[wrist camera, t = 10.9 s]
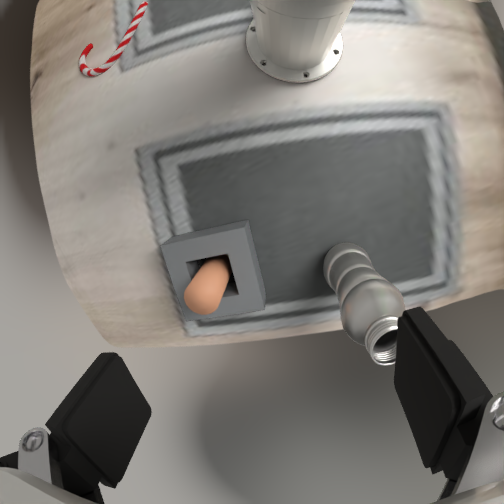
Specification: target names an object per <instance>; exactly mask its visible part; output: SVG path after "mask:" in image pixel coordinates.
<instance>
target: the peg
mask: <svg viewBox="0 0 504 504" xmlns="http://www.w3.org/2000/svg"><path fill="white" fill-rule="evenodd" d="M232 271H233V270H232V267H231V263H230V259H229V257H228V256H227V255H225V254H223V255H218V256H213V257H208V258H207V259H206V261H205V262H204V263H203V265H202V266H201V268H200V269H199V271H198V272H197V273H196V275H195V276H194V278H193V279H192V281H191V282H190V284H189V285H188V287H187V288H186V290H185V292H184V300H185V303H186V305H187V306H188V307H189V309H191V310H192V311H193V312H195V313H197V314H201V315H207V314H211V313H213V312H214V311H215V310H216V309H217V308H218V306H219V303H220V301H221V298H222V296H223V293H224V291H225V288H226V286H227V283H228V281H229V279H230V276H231V274H232Z"/></svg>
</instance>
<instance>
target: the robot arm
mask: <svg viewBox="0 0 504 504" xmlns="http://www.w3.org/2000/svg"><path fill="white" fill-rule="evenodd" d="M467 1H472V2H487V1H491V0H467ZM354 3H355V0H250V4H251V9H252V14H253V20H252V21H251V23H250V25H249V26H248V29H247V32H246V46H247V50H248V53H249V55H250V57H251V59H252V61H253V62H254V63H255V64H256V65H257V67H258V68H260V69H261V70H262V71H263V72H265V73H266V74H268V75H270V76H272V77H274V78H277V79H279V80H282V81H287V82H297V83H302V82H310V81H313V80H317V79H319V78H321V77H323V76H325V75H327V74H328V73H329V72H331V71H332V70H333V69H334V68H335V66H336V65H337V64H338V62H339V60H340V58H341V56H342V52H343V40H342V36H341V33H340V31H341V29H342V27H343V25H344V23H345V21H346V19H347V17H348V15H349V13H350V11H351V9H352V7H353V5H354ZM253 30H255V32H252V31H253ZM334 53H336V54H337V55H335V54H334ZM263 63H265V64H266V65H265V66H263V65H262V64H263ZM304 75H307V76H308V77H307V78H305V77H304ZM394 385H395V389H396V392H397V394H398V397H399V399H400V401H401V404H402V407H403V409H404V412H405V414H406V417H407V420H408V422H409V425H410V428H411V430H412V433H413V436H414V438H415V441H416V444H417V447H418V450H419V453H420V456H421V459H422V461H423V464H424V466H425V468H429V467H430V468H431V471H432V474H435V473H437V472H440V471H442V470H443V471H444V474H445V477H446V478H448V479H447V481H446V483H445V486H444V488H443V490H442V492H441V494H440V496H439V498H438V499H437V501H436V502H434V503H430V504H504V392H501V393H498V394H497V395H495V396H494V397H493V395H492V394H491V393H490V391H489V390H488V388H487V387H486V385H485V384H484V382H483V381H482V379H481V378H480V377H479V375H478V374H477V372H476V371H475V370H474V368H473V367H472V366H471V364H470V363H469V361H468V360H467V359H466V357H465V356H464V355H463V353H462V352H461V351H460V349H459V348H458V347H457V346H456V344H455V343H454V342H453V341H451V340H448V339H447V338H446V337H445V336H444V334H443V333H442V332H441V331H440V330H439V328H438V327H437V325H436V324H435V323H434V322H433V321H432V319H431V318H430V317H429V316H428V315H427V313H426V312H425V311H424V310H423V308H421V307H416V308H413V309H409V310H405V311H403V314H402V316H401V317H398V320H397V345H396V361H395V375H394ZM150 417H151V407H150V406H149V404H148V403H147V401H146V399H145V397H144V396H143V394H142V393H141V391H140V389H139V387H138V386H137V384H136V382H135V381H134V379H133V377H132V375H131V374H130V372H129V370H128V368H127V367H126V365H125V363H124V361H123V359H122V358H121V357H119V356H118V354H117V353H114V352H113V353H101V354H100V355H99V356H98V357H97V358H96V360H95V361H94V362H93V363H92V365H91V366H90V367H89V368H88V369H87V371H86V372H85V374H83V376H82V377H81V378H80V379H79V381H78V382H77V383H76V385H75V386H74V387H73V389H72V390H71V391H70V392H69V394H68V395H67V396H66V397H65V399H64V400H63V401H62V403H61V404H60V405H59V407H58V408H57V409H56V410H55V412H54V413H53V415H52V416H51V417H50V419H49V420H48V421H47V423H46V424H45V425H46V426H47V428H48V429H49V430H50V431H51V434H50V435H49V434H48V433H47V431H46V430H45V429H43V428H33V429H31V430H29V431H28V432H26V433H25V434H24V435H23V437H22V438H21V440H20V443H19V451H17V452H14V453H11V454H9V455H6V456H3V457H1V458H0V504H104V501H103V498H102V495H101V492H100V488H99V486H98V483H99V481H100V482H101V483H102V484H103V485H105V486H108V487H112V488H116V486H117V484H118V482H120V481H121V480H122V478H123V476H124V474H125V471H126V469H127V467H128V465H129V462H130V460H131V458H132V456H133V454H134V451H135V449H136V447H137V445H138V443H139V440H140V438H141V436H142V434H143V432H144V430H145V427H146V425H147V423H148V421H149V419H150Z"/></svg>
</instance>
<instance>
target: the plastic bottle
mask: <svg viewBox="0 0 504 504" xmlns="http://www.w3.org/2000/svg"><path fill="white" fill-rule="evenodd" d="M323 272H324V277H325V279H326V281H327V283H328V284H329V286H330V287H331V288H332V289H333V290H334V291H335V293H336V294H337V296H338V300H339V303H340V314H341V321H342V325H343V328H344V330H345V332H346V333H347V335H348V336H349V337H350V338H351V339H352V340H354V341H355V342H357V343H359V344H361V345H364V346H366V348H367V351H368V352H369V353H370V356H371V358H372V359H373V361H374V362H375V363H377V364H379V365H391V364H394V363H395V361H396V345H397V320H398V317H401V316H402V314H403V311H405V304H404V299H403V297H402V294H401V293H400V291H399V290H398V289H397V288H396V287H395V286H394V285H393V284H392V283H390V282H389V281H387V280H386V279H385V278H383V277H382V276H380V275H379V274H378V273H377V272H376V271H375V269H374V268H373V266H372V263H371V260H370V258H369V256H368V254H367V253H366V251H365V250H364V249H363V248H362V247H360V246H358V245H356V244H353V243H349V242H344V243H340V244H337V245H335V246H334V247H332V248H331V249H330V250H329V252H328V253H327V255H326V256H325V259H324V265H323Z"/></svg>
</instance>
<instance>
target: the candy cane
mask: <svg viewBox="0 0 504 504" xmlns="http://www.w3.org/2000/svg"><path fill="white" fill-rule="evenodd" d="M147 6H148V3H147V2H142V3H141V4H140V6H139V8H138V10H137V12H136V14H135V16H134V18H133V20H132V22H131V24H130V26H129V28H128V30H127V32H126V33H125V35H124V37H123V39H122V41H121V43H120V44H119V46H118V48H117V49H116V51H115V52H114V53H113V55H112V56H111V57H110V58H109V60H108V61H107V62H106V63H104V64H103V65H102V66H100V67H98V68H95V69H90V68H88V67H87V66H86V56H87V54H88V53H89V51H90V50H91V49H92V48H93V45H92V44H89V45H88V46H87V47H86V48H85V49H84V51H83V52H82V54H81V56H80V59H79V68H80V71H81V72H82V73H83V74H84V75H86V76H97V75H99V74H102V73H103V72H105V71H106V70H108V69H109V68H110V67H111V66H112V65H113V64H114V63H115V62H116V61H117V59H118V58H119V57H120V56H121V54H122V53H123V51H124V50H125V48H126V46H127V45H128V43H129V41H130V39H131V38H132V36H133V34H134V32H135V30H136V28H137V26H138V24H139V22H140V20H141V18H142V16H143V14H144V12H145V10H146V8H147Z"/></svg>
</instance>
